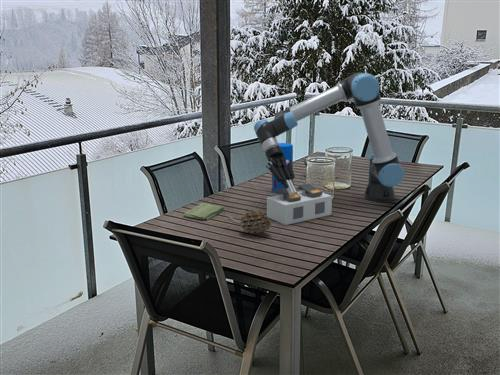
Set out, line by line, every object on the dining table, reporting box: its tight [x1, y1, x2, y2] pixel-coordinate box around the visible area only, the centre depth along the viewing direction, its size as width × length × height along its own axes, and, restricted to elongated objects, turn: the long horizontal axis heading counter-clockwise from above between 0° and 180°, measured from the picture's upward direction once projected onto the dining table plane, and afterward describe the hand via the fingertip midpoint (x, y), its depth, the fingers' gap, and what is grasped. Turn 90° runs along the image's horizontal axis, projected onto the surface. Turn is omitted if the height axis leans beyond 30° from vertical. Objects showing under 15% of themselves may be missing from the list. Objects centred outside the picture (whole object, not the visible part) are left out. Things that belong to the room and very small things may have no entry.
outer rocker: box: [277, 187, 301, 202], centre depth 224 cm, size 10×6×2 cm, turn 32°
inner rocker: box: [297, 183, 323, 197], centre depth 230 cm, size 10×6×2 cm, turn 32°
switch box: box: [266, 186, 333, 226], centre depth 229 cm, size 14×26×12 cm, turn 122°
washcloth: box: [182, 202, 225, 221], centre depth 234 cm, size 13×18×3 cm
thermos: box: [271, 142, 294, 194], centre depth 268 cm, size 11×11×25 cm
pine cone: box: [226, 209, 272, 235], centre depth 209 cm, size 22×10×10 cm, turn 62°
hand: (293, 193), depth 220 cm, fingers closed, pressing on outer rocker
